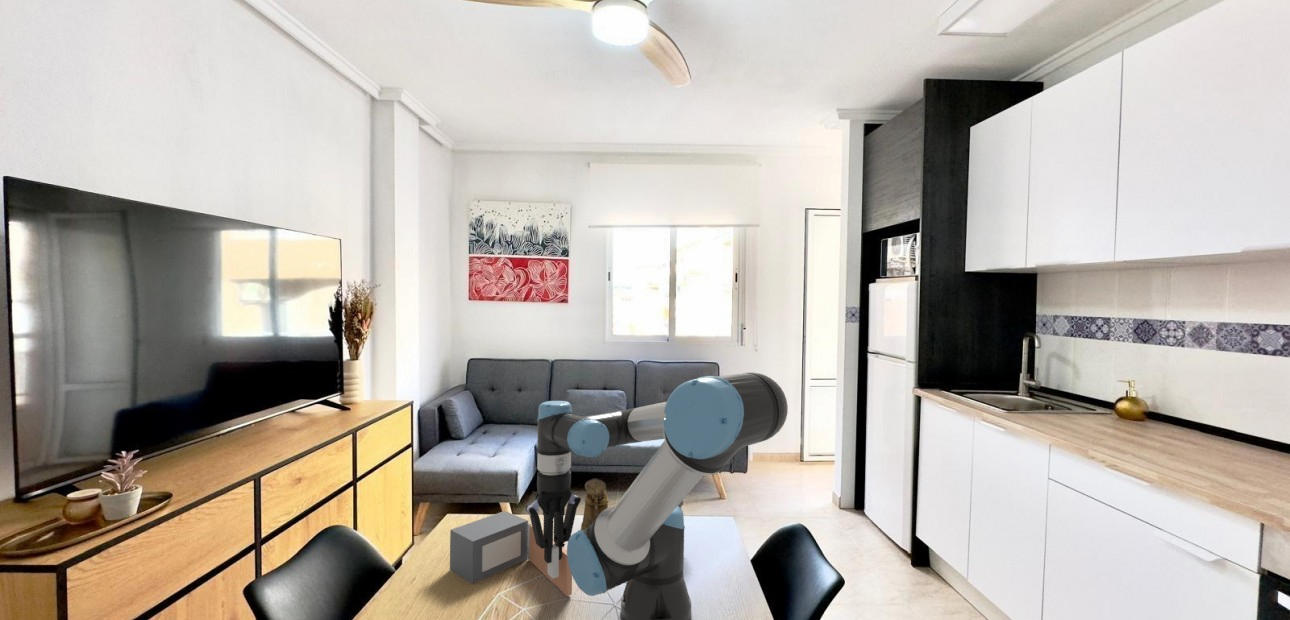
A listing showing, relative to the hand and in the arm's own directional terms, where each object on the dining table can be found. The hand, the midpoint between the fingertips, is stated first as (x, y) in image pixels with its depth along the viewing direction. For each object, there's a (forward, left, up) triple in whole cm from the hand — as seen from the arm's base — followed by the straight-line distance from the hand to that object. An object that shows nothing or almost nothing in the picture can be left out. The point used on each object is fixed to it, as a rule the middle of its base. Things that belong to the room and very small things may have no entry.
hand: (552, 575), depth 115 cm
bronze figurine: (+17, -30, -5) cm, 35 cm away
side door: (+7, -5, -4) cm, 10 cm away
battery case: (+24, +1, -5) cm, 24 cm away
